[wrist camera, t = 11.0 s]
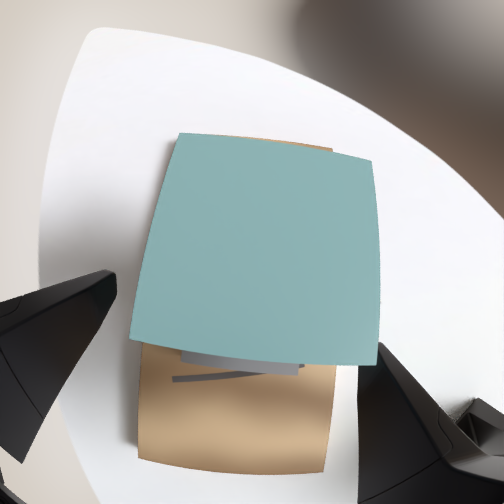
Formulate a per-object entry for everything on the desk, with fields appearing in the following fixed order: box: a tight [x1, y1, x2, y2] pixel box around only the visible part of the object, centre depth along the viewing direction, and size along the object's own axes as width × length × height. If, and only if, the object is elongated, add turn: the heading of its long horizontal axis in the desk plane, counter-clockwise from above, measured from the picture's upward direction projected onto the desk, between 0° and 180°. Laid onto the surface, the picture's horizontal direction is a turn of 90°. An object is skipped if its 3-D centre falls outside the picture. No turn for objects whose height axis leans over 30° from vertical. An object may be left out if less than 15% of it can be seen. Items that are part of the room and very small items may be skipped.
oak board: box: [138, 134, 336, 475], centre depth 18 cm, size 24×12×2 cm, turn 176°
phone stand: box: [455, 398, 504, 457], centre depth 9 cm, size 9×6×12 cm, turn 118°
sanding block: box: [129, 133, 380, 376], centre depth 11 cm, size 7×6×12 cm
